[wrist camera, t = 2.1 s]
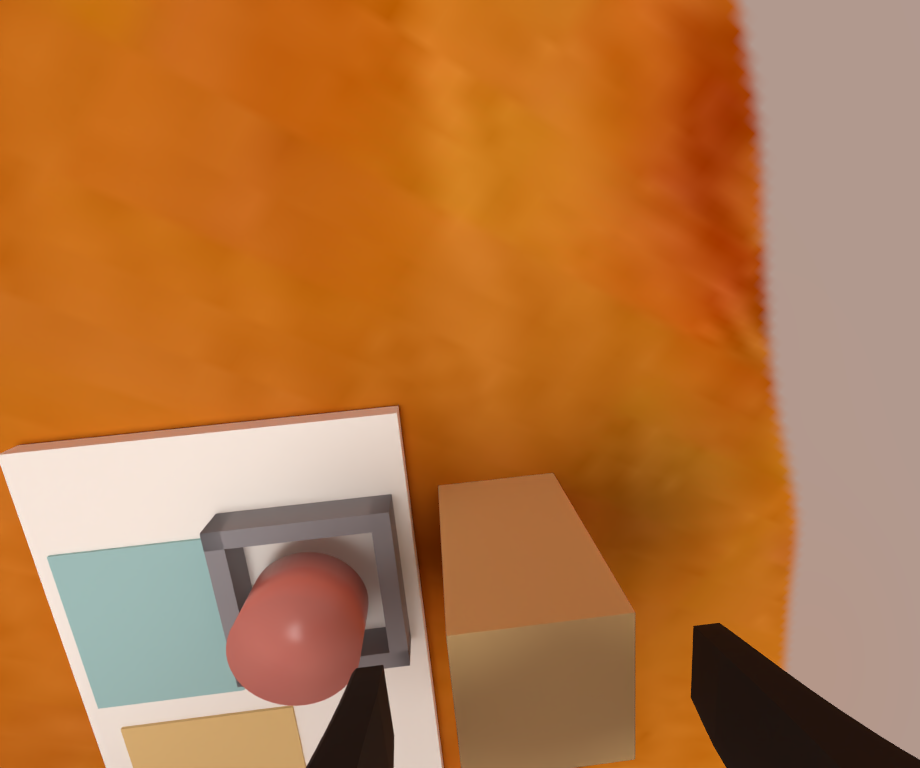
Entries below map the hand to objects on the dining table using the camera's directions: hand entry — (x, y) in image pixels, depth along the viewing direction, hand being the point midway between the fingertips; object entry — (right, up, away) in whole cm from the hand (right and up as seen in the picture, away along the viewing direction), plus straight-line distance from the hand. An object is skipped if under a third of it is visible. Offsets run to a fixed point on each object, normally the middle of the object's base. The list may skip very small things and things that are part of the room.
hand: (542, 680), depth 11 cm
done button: (-7, 0, +4) cm, 8 cm away
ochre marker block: (0, +2, +6) cm, 7 cm away
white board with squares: (-9, -4, +7) cm, 12 cm away
